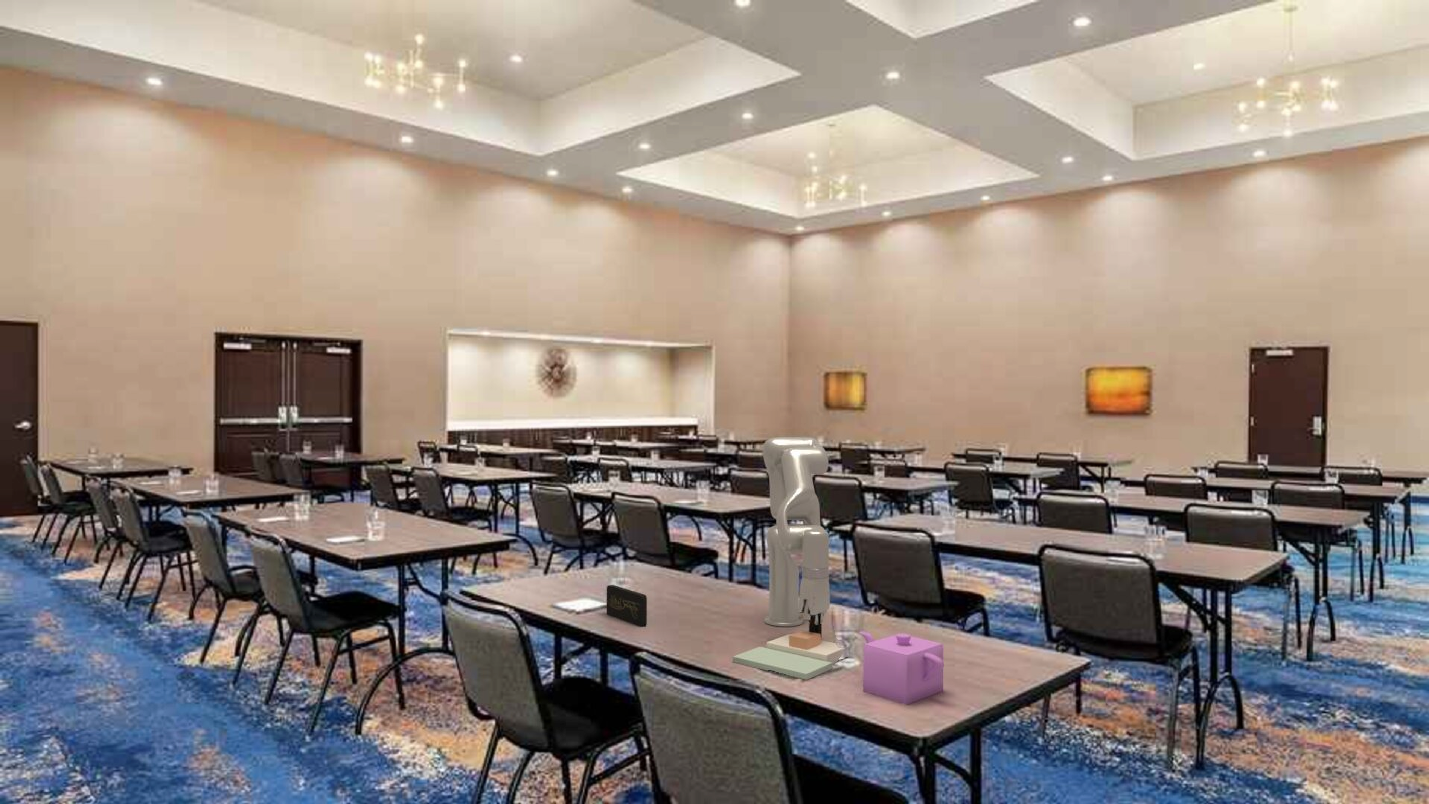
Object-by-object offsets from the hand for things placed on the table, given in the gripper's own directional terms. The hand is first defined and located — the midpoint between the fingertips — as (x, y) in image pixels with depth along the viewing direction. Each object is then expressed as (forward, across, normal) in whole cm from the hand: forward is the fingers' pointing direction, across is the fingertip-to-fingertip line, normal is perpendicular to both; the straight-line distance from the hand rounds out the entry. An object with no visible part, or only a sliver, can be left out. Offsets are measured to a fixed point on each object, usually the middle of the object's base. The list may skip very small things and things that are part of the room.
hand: (815, 637), depth 249 cm
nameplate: (+4, +8, -67) cm, 68 cm away
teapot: (+5, +15, +34) cm, 37 cm away
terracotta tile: (+1, +5, 0) cm, 5 cm away
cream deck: (+4, +4, 0) cm, 6 cm away
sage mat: (+4, +16, 0) cm, 17 cm away
